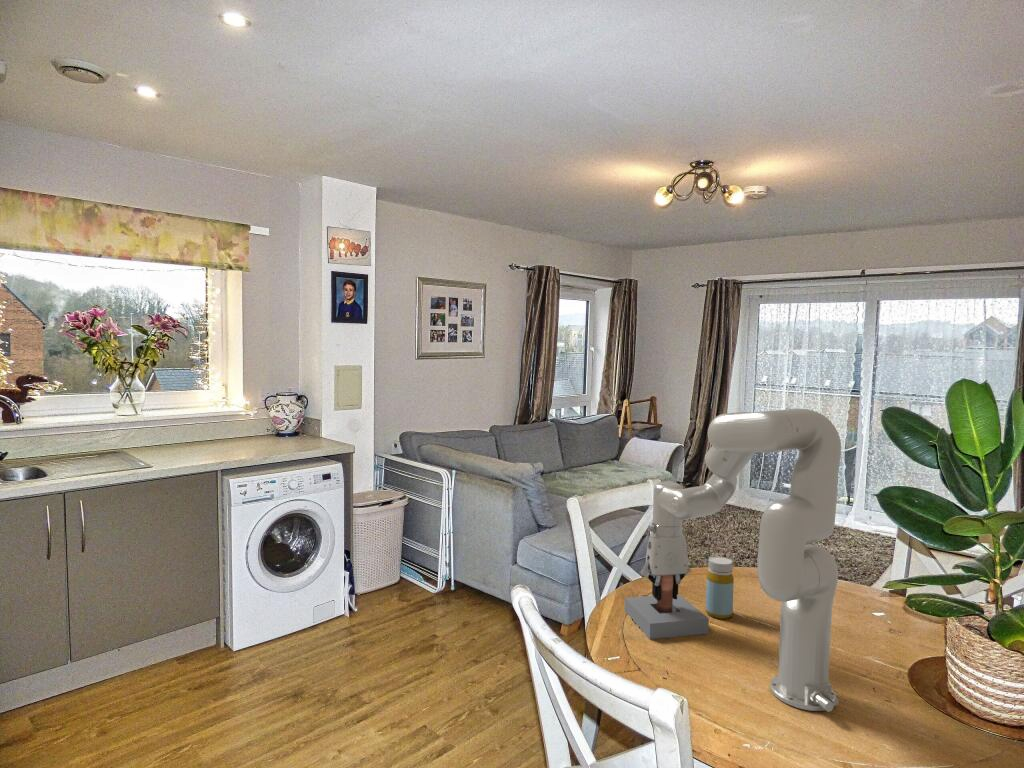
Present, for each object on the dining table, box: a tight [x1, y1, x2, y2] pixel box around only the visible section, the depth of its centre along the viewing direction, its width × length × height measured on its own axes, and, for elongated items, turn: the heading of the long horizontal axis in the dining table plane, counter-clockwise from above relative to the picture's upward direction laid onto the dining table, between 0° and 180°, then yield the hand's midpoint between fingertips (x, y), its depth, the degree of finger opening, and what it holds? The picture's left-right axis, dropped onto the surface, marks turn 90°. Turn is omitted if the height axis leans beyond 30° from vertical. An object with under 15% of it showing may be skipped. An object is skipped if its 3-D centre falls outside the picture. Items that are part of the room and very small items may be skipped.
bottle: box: [705, 556, 735, 620], centre depth 168 cm, size 7×7×15 cm
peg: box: [657, 575, 673, 613], centre depth 162 cm, size 4×4×12 cm
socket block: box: [624, 593, 710, 640], centre depth 162 cm, size 16×16×4 cm
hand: (664, 597), depth 162 cm, fingers closed on peg, 4 cm apart
